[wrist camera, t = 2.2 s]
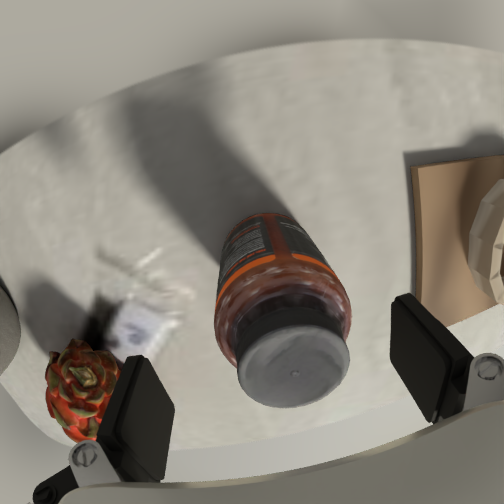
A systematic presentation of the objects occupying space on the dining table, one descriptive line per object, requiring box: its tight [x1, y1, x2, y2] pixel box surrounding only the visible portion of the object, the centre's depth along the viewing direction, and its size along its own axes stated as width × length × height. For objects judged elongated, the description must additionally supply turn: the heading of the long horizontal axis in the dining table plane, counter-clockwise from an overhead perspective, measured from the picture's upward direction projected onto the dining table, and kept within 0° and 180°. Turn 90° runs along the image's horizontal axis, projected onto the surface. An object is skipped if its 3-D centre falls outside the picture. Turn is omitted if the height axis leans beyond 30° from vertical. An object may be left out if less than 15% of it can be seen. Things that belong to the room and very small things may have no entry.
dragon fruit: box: [45, 339, 121, 443], centre depth 21 cm, size 8×8×12 cm
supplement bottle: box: [214, 213, 352, 408], centre depth 15 cm, size 6×6×11 cm
